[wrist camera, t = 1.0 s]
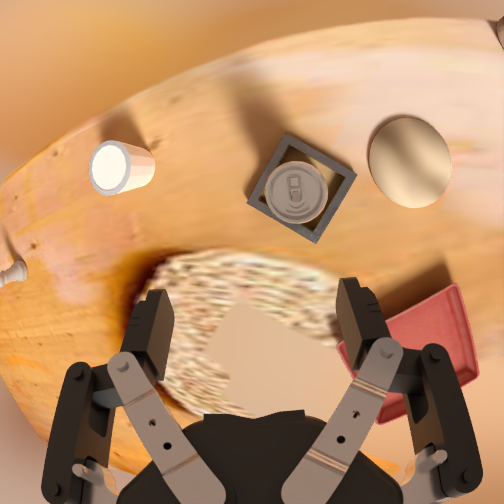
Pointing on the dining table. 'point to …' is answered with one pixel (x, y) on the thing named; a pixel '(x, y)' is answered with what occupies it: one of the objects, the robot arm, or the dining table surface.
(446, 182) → the coaster
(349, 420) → the robot arm
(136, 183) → the white tapered cylinder
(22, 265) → the rook chess piece
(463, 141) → the dining table surface
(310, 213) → the beer can
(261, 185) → the collar
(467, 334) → the plant saucer
